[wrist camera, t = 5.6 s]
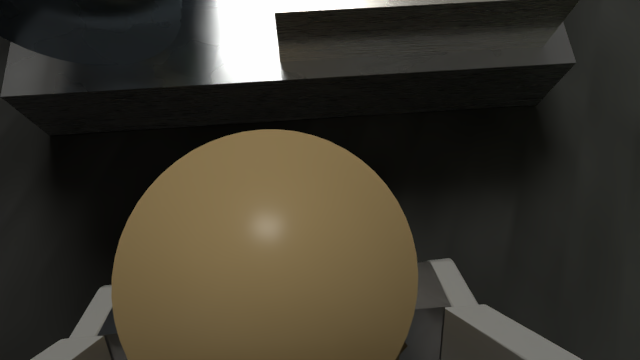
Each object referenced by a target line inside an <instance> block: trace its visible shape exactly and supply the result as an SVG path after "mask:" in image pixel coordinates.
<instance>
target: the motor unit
mask: <svg viewBox="0 0 640 360" xmlns="http://www.w3.org/2000/svg"><path fill="white" fill-rule="evenodd" d="M578 1H579V0H0V36H1V37H3V38H5V39H7V40H9V41H11V44H10V49H9V54H8V59H7V65H6V70H5V75H4V81H3V86H2V91H1V96H0V97H1V98H3V99H4V100H5V101H6V102H8V103H9V104H10V105H11V106H13V107H14V108H15V109H16V110H18V111H19V112H20V113H22V114H23V115H24V116H25V117H27V118H28V119H29V120H30V121H32V122H33V123H34V124H35V125H37V126H38V127H39V128H40V129H42V130H43V131H44V132H46V133H47V134H48V135H65V134H81V133H97V132H113V131H129V130H145V129H161V128H177V127H193V126H209V125H224V124H240V123H256V122H272V121H288V120H304V119H320V118H336V117H352V116H368V115H384V114H400V113H416V112H432V111H448V110H464V109H480V108H495V107H511V106H527V105H537V104H538V103H539V102H540V101H541V100H542V99H543V98H544V97H545V96H546V95H547V93H548V92H549V91H550V90H551V89H552V88H553V87H554V86H555V85H556V84H557V83H558V82H559V81H560V80H561V78H562V77H563V76H564V75H565V74H566V73H567V72H568V71H569V70H570V69H571V68H572V67H573V66H574V64H575V63H576V61H575V58H574V54H573V51H572V48H571V45H570V42H569V39H568V36H567V33H566V30H565V26H564V23H563V21H564V20H565V18H566V17H567V16H568V14H569V13H570V12H571V10H572V9H573V8H574V7H575V5H576V4H577V3H578Z"/></svg>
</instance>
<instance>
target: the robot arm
mask: <svg viewBox="0 0 640 360" xmlns="http://www.w3.org/2000/svg"><path fill="white" fill-rule="evenodd" d="M417 266H418V292H417V300H416V305H415V311H414V316H413V319H412V322H411V326H410V329H409V332H408V335H407V337H406V340H405V342H404V344H403V346H402V348H401V350H400V352H399V355H398V356H397V358H396V359H395V360H582V359H580V358H578V357H577V356H575V355H573V354H571V353H570V352H568V351H566V350H564V349H563V348H561V347H559V346H557V345H556V344H554V343H552V342H550V341H549V340H547V339H545V338H543V337H542V336H540V335H538V334H536V333H534V332H533V331H531V330H529V329H527V328H526V327H524V326H522V325H520V324H519V323H517V322H515V321H513V320H512V319H510V318H508V317H506V316H505V315H503V314H501V313H499V312H498V311H496V310H494V309H492V308H491V307H489V306H487V305H485V304H484V305H478V303H477V301H476V300H475V298H474V296H473V294H472V293H471V291H470V289H469V288H468V286H467V284H466V282H465V281H464V279H463V277H462V276H461V274H460V272H459V270H458V269H457V267H456V265H455V264H454V262H453V260H451V259H450V258H446V259H437V260H428V261H425V262H417ZM111 294H112V285H104V286H103V287H101V288H99V289H98V291H97V293H96V294H95V296H94V298H93V299H92V301H91V302H90V304H89V306H88V307H87V309H86V311H85V312H84V314H83V316H82V317H81V319H80V321H79V322H78V324H77V326H76V327H75V329H74V330H73V332H72V334H71V335H70V337H69V339H61V340H59V341H58V342H56V343H55V344H53V345H52V346H50V347H49V348H47V349H46V350H44V351H43V352H41V353H40V354H38V355H37V356H35V357H34V358H32V359H31V360H128V359H127V357H126V354H125V352H124V350H123V347H122V345H121V342H120V340H119V337H118V333H117V329H116V325H115V321H114V316H113V307H112V299H111Z"/></svg>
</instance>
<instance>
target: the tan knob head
mask: <svg viewBox="0 0 640 360" xmlns="http://www.w3.org/2000/svg"><path fill="white" fill-rule="evenodd" d="M417 292H418V266H417V255H416V250H415V245H414V241H413V236H412V233H411V230H410V228H409V225H408V222H407V219H406V217H405V215H404V213H403V211H402V209H401V207H400V205H399V203H398V201H397V199H396V198H395V197H394V195H393V194H392V192H391V191H390V189H389V188H388V186H387V185H386V184H385V183H384V182H383V180H382V179H381V178H380V177H379V176H378V175H377V174H376V173H375V171H373V170H372V169H371V168H370V167H369V166H368V165H367V164H365V163H364V162H363V161H362V160H361V159H359V158H358V157H356V156H355V155H353V154H352V153H351V152H349V151H348V150H346V149H344V148H342V147H340V146H338V145H336V144H334V143H332V142H330V141H328V140H325V139H322V138H319V137H317V136H314V135H310V134H306V133H301V132H297V131H289V130H280V129H261V130H253V131H245V132H240V133H236V134H232V135H228V136H224V137H222V138H219V139H216V140H213V141H211V142H208V143H206V144H204V145H202V146H200V147H198V148H196V149H194V150H192V151H191V152H189V153H188V154H186V155H185V156H183V157H182V158H180V159H179V160H177V161H176V162H175V163H174V164H172V165H171V166H170V167H169V168H168V169H166V170H165V171H164V172H163V173H162V174H161V175H160V176H159V177H158V178H157V179H156V180H155V181H154V182H153V183H152V184H151V186H150V187H149V188H148V189H147V190H146V192H145V193H144V195H143V196H142V197H141V199H140V200H139V201H138V203H137V204H136V206H135V208H134V210H133V211H132V213H131V215H130V217H129V218H128V220H127V223H126V225H125V228H124V230H123V232H122V235H121V237H120V240H119V244H118V247H117V251H116V255H115V259H114V266H113V272H112V294H111V299H112V307H113V316H114V321H115V325H116V329H117V333H118V337H119V340H120V342H121V345H122V347H123V350H124V352H125V354H126V357H127V359H128V360H395V359H396V358H397V356H398V355H399V352H400V350H401V348H402V346H403V344H404V342H405V340H406V337H407V335H408V332H409V329H410V326H411V322H412V319H413V316H414V311H415V305H416V300H417Z"/></svg>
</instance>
